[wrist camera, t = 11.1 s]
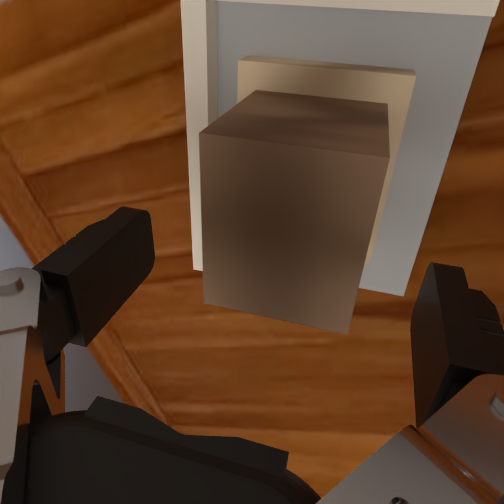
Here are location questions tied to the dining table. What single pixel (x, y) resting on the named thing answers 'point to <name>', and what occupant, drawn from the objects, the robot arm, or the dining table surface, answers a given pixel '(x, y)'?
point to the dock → (348, 52)
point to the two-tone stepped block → (298, 186)
